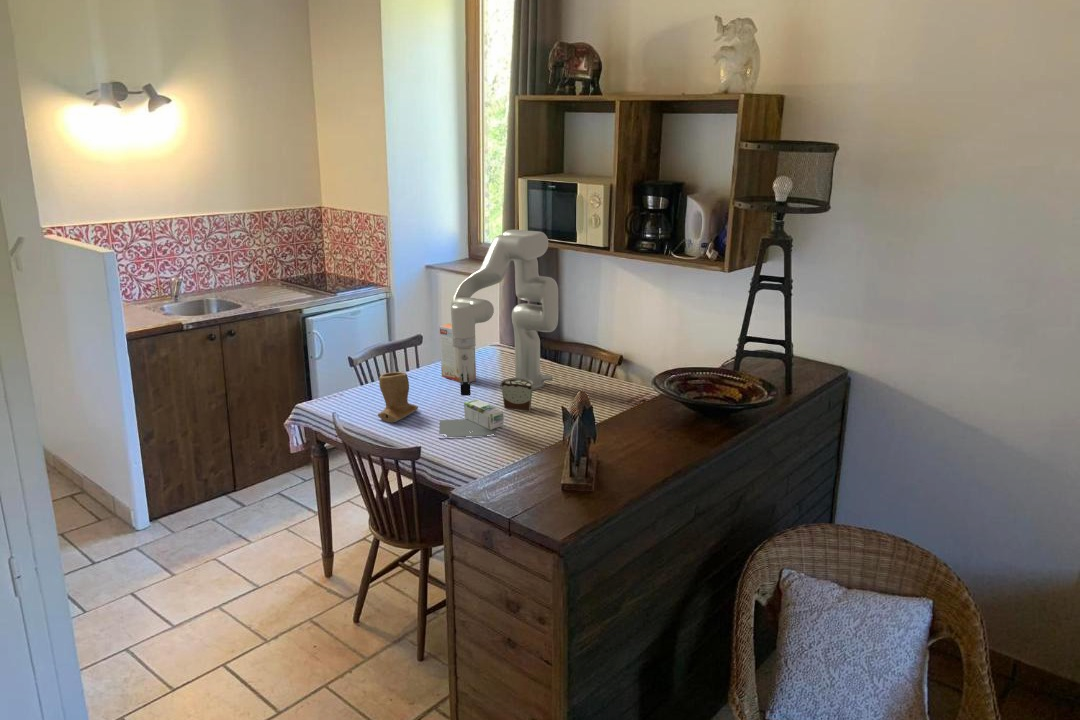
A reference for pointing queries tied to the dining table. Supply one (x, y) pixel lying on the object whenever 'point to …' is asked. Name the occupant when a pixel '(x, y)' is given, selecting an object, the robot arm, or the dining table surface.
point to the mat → (463, 428)
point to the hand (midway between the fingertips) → (465, 394)
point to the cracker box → (451, 355)
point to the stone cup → (395, 396)
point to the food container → (517, 393)
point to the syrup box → (484, 414)
